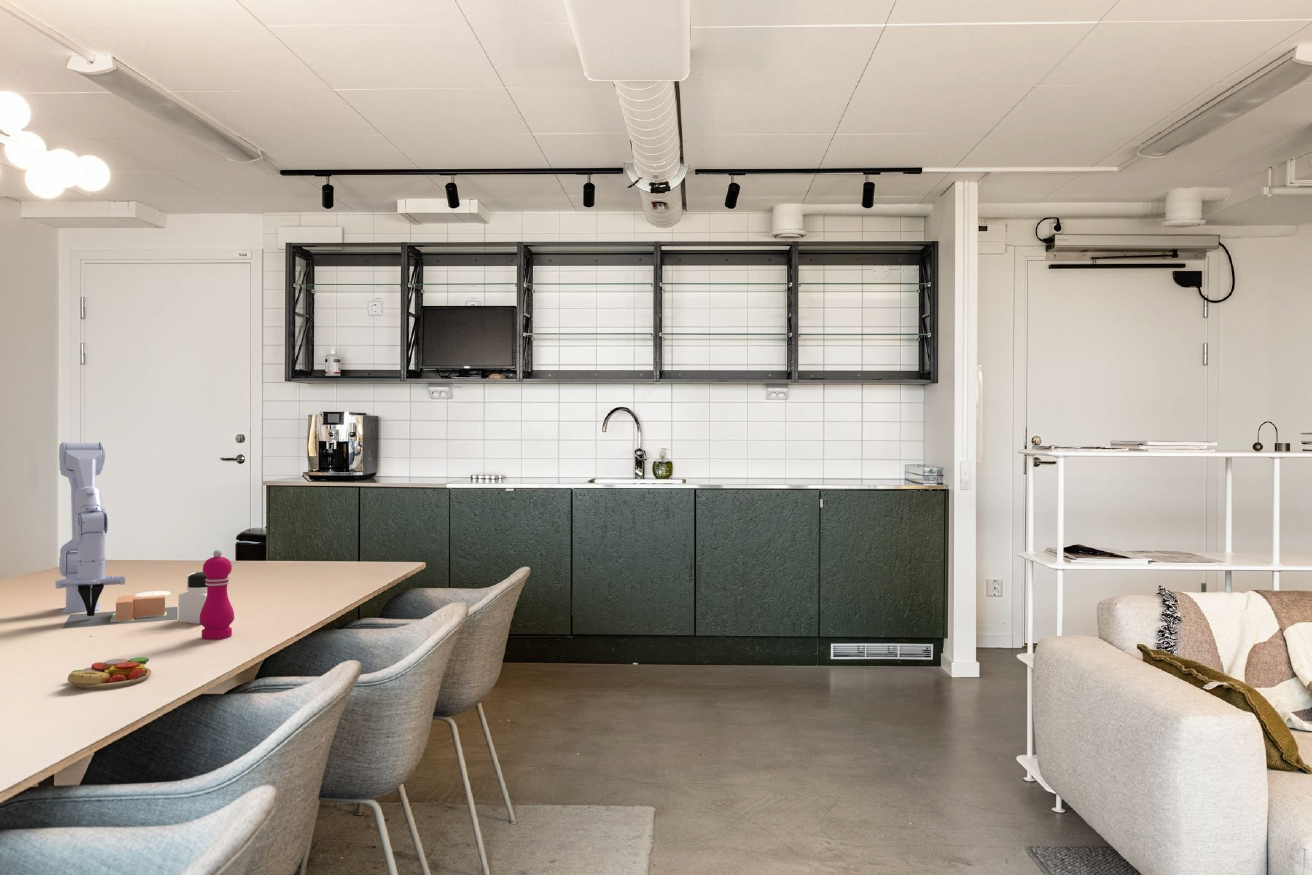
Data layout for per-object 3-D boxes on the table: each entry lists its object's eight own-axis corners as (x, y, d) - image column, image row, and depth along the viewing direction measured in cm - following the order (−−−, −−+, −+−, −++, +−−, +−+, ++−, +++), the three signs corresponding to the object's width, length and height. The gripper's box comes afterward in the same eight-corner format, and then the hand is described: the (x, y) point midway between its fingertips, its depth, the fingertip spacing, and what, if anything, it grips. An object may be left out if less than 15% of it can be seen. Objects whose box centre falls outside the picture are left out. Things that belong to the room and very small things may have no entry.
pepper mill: (241, 634, 207) (242, 548, 207) (216, 641, 200) (217, 552, 200) (216, 632, 209) (217, 547, 209) (191, 638, 203) (192, 550, 203)
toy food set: (62, 695, 160) (62, 677, 160) (76, 676, 172) (76, 659, 172) (147, 687, 165) (147, 669, 165) (155, 669, 177) (155, 653, 177)
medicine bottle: (222, 618, 225) (222, 570, 225) (205, 624, 218) (205, 575, 218) (195, 617, 226) (195, 570, 226) (177, 623, 219) (178, 574, 219)
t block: (118, 613, 227) (118, 596, 227) (165, 610, 232) (165, 592, 232) (115, 621, 219) (115, 602, 219) (164, 617, 224) (164, 599, 224)
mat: (70, 616, 226) (70, 614, 226) (177, 608, 237) (177, 606, 237) (62, 630, 210) (62, 628, 210) (177, 620, 221) (177, 619, 221)
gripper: (54, 564, 213) (53, 620, 213) (124, 560, 220) (124, 615, 220) (57, 560, 220) (57, 615, 220) (125, 557, 227) (125, 610, 227)
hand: (90, 615), depth 220 cm, fingers closed
